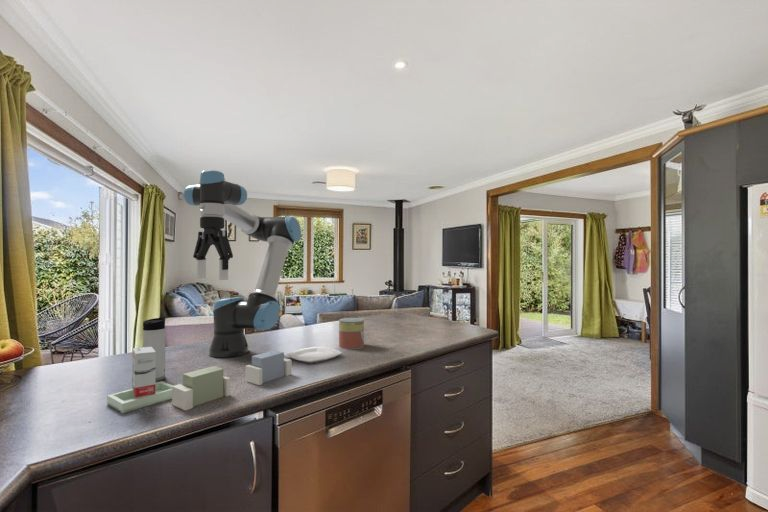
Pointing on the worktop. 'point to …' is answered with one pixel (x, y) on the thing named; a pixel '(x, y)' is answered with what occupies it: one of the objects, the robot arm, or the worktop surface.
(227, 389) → the holder
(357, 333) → the canned food
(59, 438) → the worktop surface
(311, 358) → the plate
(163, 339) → the travel mug
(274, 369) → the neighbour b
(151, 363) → the ink box
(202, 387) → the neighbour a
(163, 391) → the tray
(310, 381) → the worktop surface
